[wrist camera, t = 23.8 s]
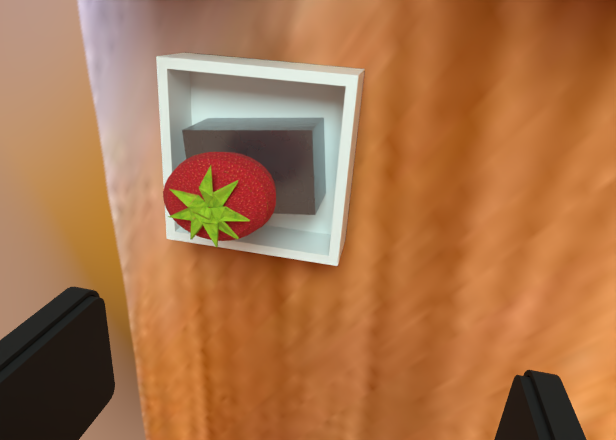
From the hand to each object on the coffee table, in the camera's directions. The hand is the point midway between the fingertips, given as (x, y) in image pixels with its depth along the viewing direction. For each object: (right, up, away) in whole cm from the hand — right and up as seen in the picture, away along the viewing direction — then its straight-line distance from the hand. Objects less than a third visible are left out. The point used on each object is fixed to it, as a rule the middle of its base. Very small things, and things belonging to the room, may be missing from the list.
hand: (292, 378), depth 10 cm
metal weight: (-3, +9, +29) cm, 31 cm away
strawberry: (-4, +7, +25) cm, 26 cm away
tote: (-3, +10, +30) cm, 32 cm away
